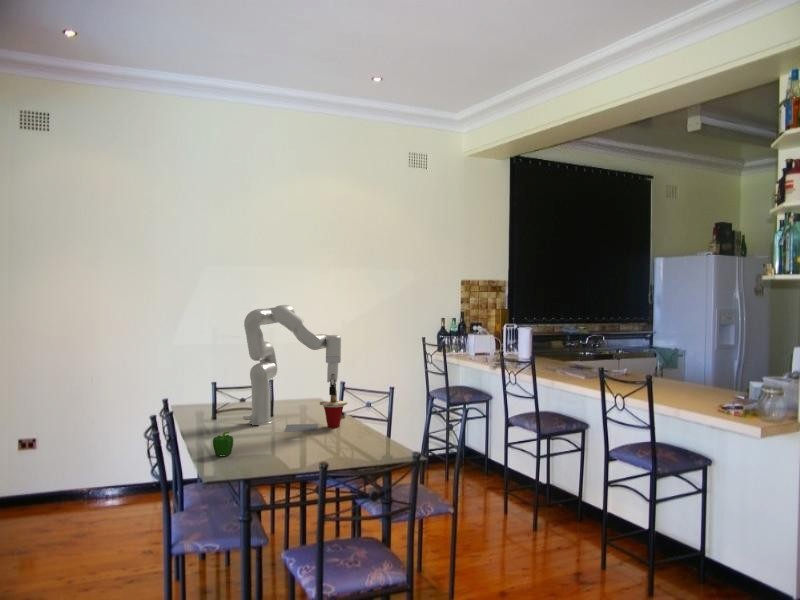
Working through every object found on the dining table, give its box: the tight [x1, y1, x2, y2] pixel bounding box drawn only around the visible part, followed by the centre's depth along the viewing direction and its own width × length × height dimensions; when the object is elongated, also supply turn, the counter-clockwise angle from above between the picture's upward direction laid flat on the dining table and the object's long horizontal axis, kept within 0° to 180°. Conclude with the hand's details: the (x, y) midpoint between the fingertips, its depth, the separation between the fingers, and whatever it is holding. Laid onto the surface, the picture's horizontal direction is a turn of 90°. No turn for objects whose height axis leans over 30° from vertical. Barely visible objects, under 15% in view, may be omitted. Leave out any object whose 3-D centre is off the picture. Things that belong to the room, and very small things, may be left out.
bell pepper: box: [212, 430, 234, 456], centre depth 256 cm, size 8×8×10 cm
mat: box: [283, 423, 319, 433], centre depth 304 cm, size 16×16×1 cm
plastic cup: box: [322, 405, 345, 429], centre depth 307 cm, size 11×11×12 cm
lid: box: [319, 389, 348, 407], centre depth 307 cm, size 14×14×7 cm
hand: (332, 393), depth 306 cm, fingers open, 9 cm apart
